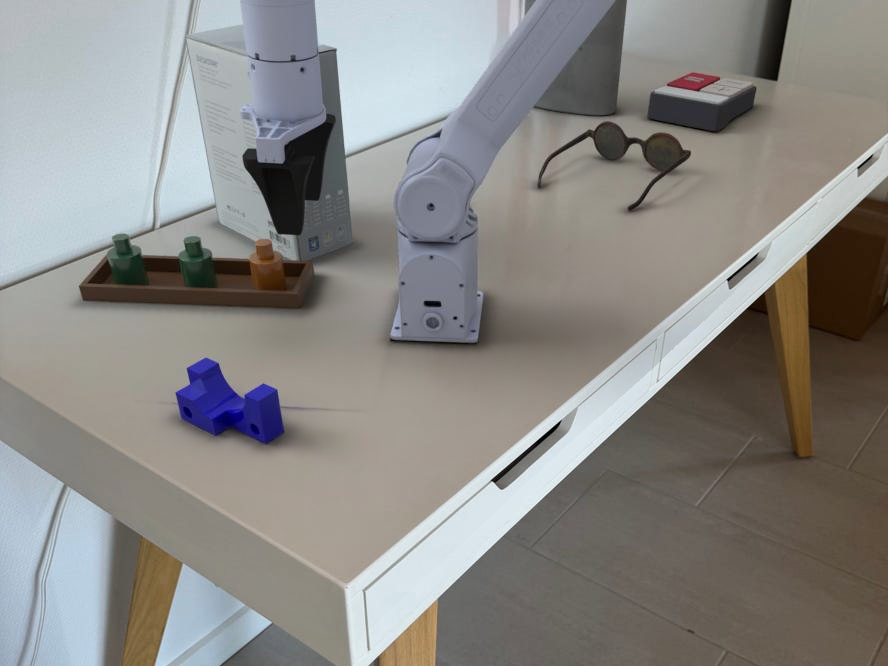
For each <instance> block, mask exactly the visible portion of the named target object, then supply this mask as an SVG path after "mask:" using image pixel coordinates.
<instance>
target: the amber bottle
mask: <svg viewBox="0 0 888 666" xmlns="http://www.w3.org/2000/svg"><path fill="white" fill-rule="evenodd" d="M254 246H255V252H253V253H251V254H250V255H249V256H248V259H249V263H250V270H251V276H252V282H253V288H254V290H273V291H286V289H287V285H286V278H285V271H284V264H283V260H284V259H283V258H284V256H282V254H281V253H280V252H278V251H275V250H273V246H272V241H271V240H269V239H259V240H257V241H254Z"/></svg>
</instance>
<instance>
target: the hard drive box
mask: <svg viewBox="0 0 888 666" xmlns="http://www.w3.org/2000/svg"><path fill="white" fill-rule="evenodd" d="M185 43H186V50H187V55H188V60H189V65H190V72H191V78H192V83H193V88H194V94H195V99H196V104H197V105H196V106H197V109H198V110H197V111H198V115H199V122H200V128H201V133H202V139H203V144H204V149H205V154H206V159H207V161H206V162H207V167H208V172H209V177H210V181H211V182H210V183H211V188H212V193H213V199H214V204H215V209H216V216H217V220H218V221H217V222H218V223H219V224H221V225H223V226H225V227H227V228H229V229H230V230H233V231H234V232H236V233H238V234H240V235H243V236H245V237H246V238H248V239H249V240H252V241H254V242H256V241H257V240H259V239H269V240H271V241H272V246H273V250H275V251H278V252H280V253H281V254H282V256H283V258H286V259H287V260H296V261H312V260H314V259H316V258H319V257H321V256H324V255H328V254H329V253H332V252H335V251H337V250H339V249H342V248H345V247H348V246H350V245H352V244H353V243H354V242H353V241H354V240H353V229H352V228H353V227H352V218H351V206H350V205H351V204H350V193H349V182H348V181H349V180H348V171H347V161H346V148H345V138H344V137H345V135H344V124H343V115H342V101H341V91H340V79H339V78H340V77H339V66H338V57H337V56H338V55H337V51H338V48H336V47H334V46H331V45H326V44H323V43H319V42H318V49H319V62H320V74H321V87H322V100H323V105H324V107H325V109H326V114H332V115H334V116H335V117H336V123H335V125H334V128H333V130H332V133H331V136H330V139H329V142H328V146H327V150H326V156H325V162H324V171H323V181H322V189H321V194H320V198H319V200H318V201H310V200H305V214H304V225H303V230H302V233H301V235H283V234H278V233H277V231H276V229H275V227H274V224H273V222H272V219H271V216H270V213H269V210H268V208H267V205H266V202H265V200H264V197H263V195H262V193H261V191H260V189H259V188H258V186H257V184H256V182H255V181H254V179H253V178H252V177H251V175H250V174H249V173H248V171H247V170H246V169H245V167H244V164H243V158H242V155H243V154H244V153H245V151H246V150H247V149H248V148H253V149H256V142H255V138H256V136H257V133H256V129H255V126H254V123H253V121H252V120H248V119H242V118H241V117H240V109H241V108H242V107H243V106H244V105H245V104H253V100H252V92H251V84H250V76H249V67H248V59H247V53H246V45H245V37H244V29H243V24H238V25H231V26H225V27H221V28H215V29H209V30H205V31H199V32H194V33H189V34H185Z"/></svg>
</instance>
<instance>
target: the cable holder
mask: <svg viewBox="0 0 888 666" xmlns="http://www.w3.org/2000/svg"><path fill="white" fill-rule="evenodd" d="M186 372H187V376H188V381H189V384H188V385H186V386H184V387H182V388H181V389H179V390H177V391H175V392H174V393H175V398H176V401H177V406H178V409H179V414H180V418H181V419H182V420H183V421H186V422H188V423H190V424H192V425H193V426H196V428H197V427H198V428H200V429H201V430H203V431H205V432H207V433H209V434H211V435H213V436H218V435H219V434H221V433H223V432H224V431H226V430H227V429H229V428H231V429H233V430H236V431H238V432H240V433H242V434H244V435H246V436H248V437H250V438H252V439H254V440H256V441H258V442H260V443H262V444H265V445H267V444H268V443H270V442H271V441H273V440H275V439H276V438H277V437H279V436H280V435H282V434H284V433H285V429H284V422H283V416H282V415H283V414H282V409H281V403H280V397H279V390H278V389H277V388H276V387H273V386H271V385H268V384H266V383H264V382H263V383H261V384H259V385H258V386H257V387H255V388H253V389H251V390H249V391H248V392H246V393H245V394H243V396H244V397H242V396H241V395H239V393H237V392H236V391H235V390H234V389H233V388H232V387H231V385H230V384H229V382H228V381H227V380H226V378H225V376H224V374H223V372H222V370H221V366H220V363H219V362H218V361H215V360H213V359H211V358H208V357H204V358H202V359H201V360H198V361H197V362H195V363H193V364H190V365H189V366H188V367H186Z"/></svg>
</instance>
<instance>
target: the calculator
mask: <svg viewBox="0 0 888 666" xmlns="http://www.w3.org/2000/svg"><path fill="white" fill-rule="evenodd" d="M756 93H757V86H755V85H754V82H752V81H746V80H742V79H741V80H740V79H734V78H729V77H723V78H721V76H717V75H712V74H704V73H700V72H689V73H687V74H685V75H683V76H680V77H679V78H676V79H674V80H672V81H669V82H667V83H666V85H663V86H661V87H659V88H656V89H655V90H654V91H651V92H650V94H649V101H648V108H647V116H646V117H647V119H649V120H654V121H659V122H665V123H669V124H675V125H679V126H685V127H690V128H695V129H699V130H705V131H710V132H719V131H721V130H722V129H724V128H726V127H727V125H728V124H729V122H730V121H731V120H732V119H734V118H736V117H738V116H740V115H741V114H743V113H745V112H747V111H748V110H750V109H752V108H753V107H754V104H755V99H756V95H757V94H756Z"/></svg>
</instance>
